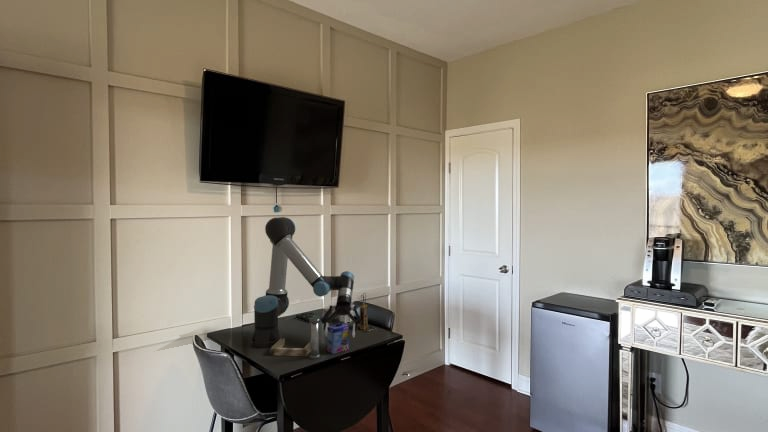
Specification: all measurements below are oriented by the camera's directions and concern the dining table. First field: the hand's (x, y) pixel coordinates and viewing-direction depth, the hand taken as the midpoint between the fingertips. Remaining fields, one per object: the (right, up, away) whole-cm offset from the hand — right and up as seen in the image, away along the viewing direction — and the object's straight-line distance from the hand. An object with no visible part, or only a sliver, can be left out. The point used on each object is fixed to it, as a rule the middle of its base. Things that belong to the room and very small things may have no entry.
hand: (339, 336), depth 200 cm
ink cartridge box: (-1, -7, +1) cm, 7 cm away
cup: (-1, -7, +53) cm, 53 cm away
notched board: (-23, -7, +3) cm, 24 cm away
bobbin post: (-10, -7, -8) cm, 15 cm away
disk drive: (-25, -7, +59) cm, 64 cm away
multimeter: (+13, -7, +38) cm, 41 cm away
